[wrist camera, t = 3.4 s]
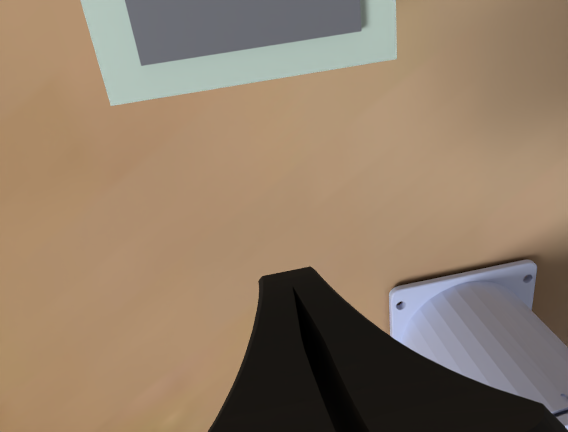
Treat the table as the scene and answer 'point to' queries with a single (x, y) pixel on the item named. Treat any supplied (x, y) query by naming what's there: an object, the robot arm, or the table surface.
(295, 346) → the robot arm
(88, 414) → the table surface
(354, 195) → the table surface
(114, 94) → the sage block
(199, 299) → the table surface
